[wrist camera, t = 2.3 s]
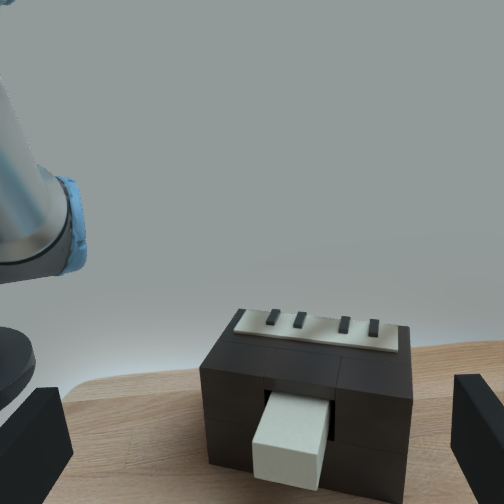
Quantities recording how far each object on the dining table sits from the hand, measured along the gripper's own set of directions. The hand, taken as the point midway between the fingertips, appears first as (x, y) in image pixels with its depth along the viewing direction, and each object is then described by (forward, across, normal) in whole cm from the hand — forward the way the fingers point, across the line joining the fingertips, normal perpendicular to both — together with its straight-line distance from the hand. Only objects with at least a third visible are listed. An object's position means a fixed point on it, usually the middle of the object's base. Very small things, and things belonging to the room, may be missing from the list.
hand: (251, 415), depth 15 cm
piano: (+22, +2, -19) cm, 29 cm away
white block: (+15, +1, -14) cm, 21 cm away
